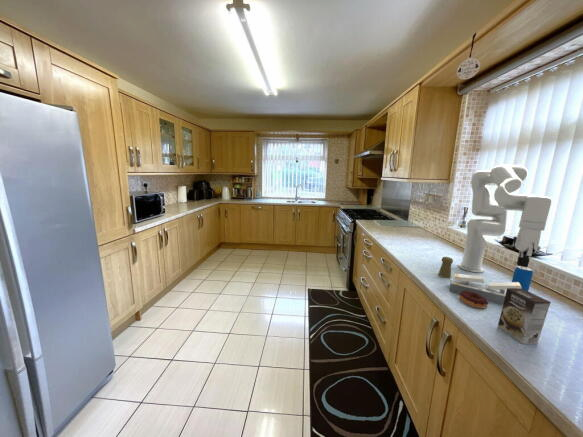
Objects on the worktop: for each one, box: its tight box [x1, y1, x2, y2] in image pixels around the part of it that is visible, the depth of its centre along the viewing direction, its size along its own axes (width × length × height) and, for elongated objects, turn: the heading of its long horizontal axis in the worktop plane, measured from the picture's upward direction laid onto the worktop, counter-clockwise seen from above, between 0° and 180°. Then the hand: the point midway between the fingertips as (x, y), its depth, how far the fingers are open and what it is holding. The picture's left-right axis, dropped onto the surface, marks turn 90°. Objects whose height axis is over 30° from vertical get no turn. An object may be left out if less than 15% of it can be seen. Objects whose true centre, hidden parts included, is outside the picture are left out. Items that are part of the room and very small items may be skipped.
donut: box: [459, 291, 489, 309], centre depth 101 cm, size 10×10×4 cm
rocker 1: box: [453, 273, 485, 284], centre depth 110 cm, size 4×11×2 cm, turn 57°
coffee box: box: [497, 288, 551, 345], centre depth 80 cm, size 9×6×16 cm
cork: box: [438, 256, 454, 279], centre depth 128 cm, size 6×6×11 cm
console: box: [449, 277, 507, 306], centre depth 107 cm, size 8×27×6 cm, turn 57°
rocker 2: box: [486, 281, 522, 290], centre depth 104 cm, size 4×11×2 cm, turn 57°
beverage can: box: [511, 265, 534, 292], centre depth 114 cm, size 6×6×12 cm
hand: (521, 265), depth 99 cm, fingers closed
